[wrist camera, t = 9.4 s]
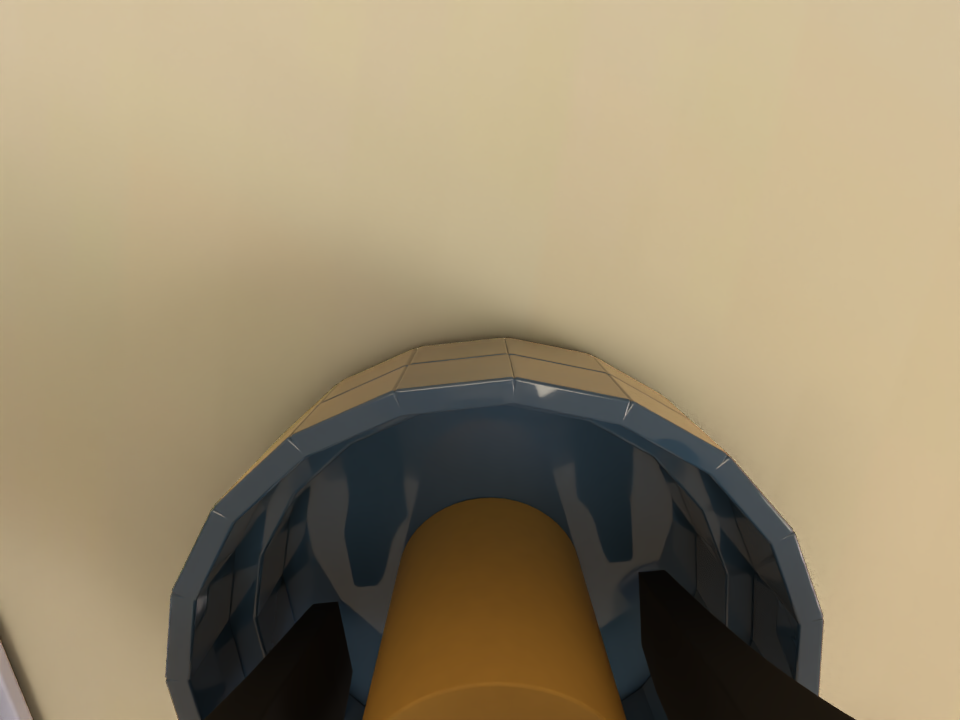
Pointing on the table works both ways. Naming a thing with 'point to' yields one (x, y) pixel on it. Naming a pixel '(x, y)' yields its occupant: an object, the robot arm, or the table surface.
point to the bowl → (485, 474)
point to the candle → (491, 624)
